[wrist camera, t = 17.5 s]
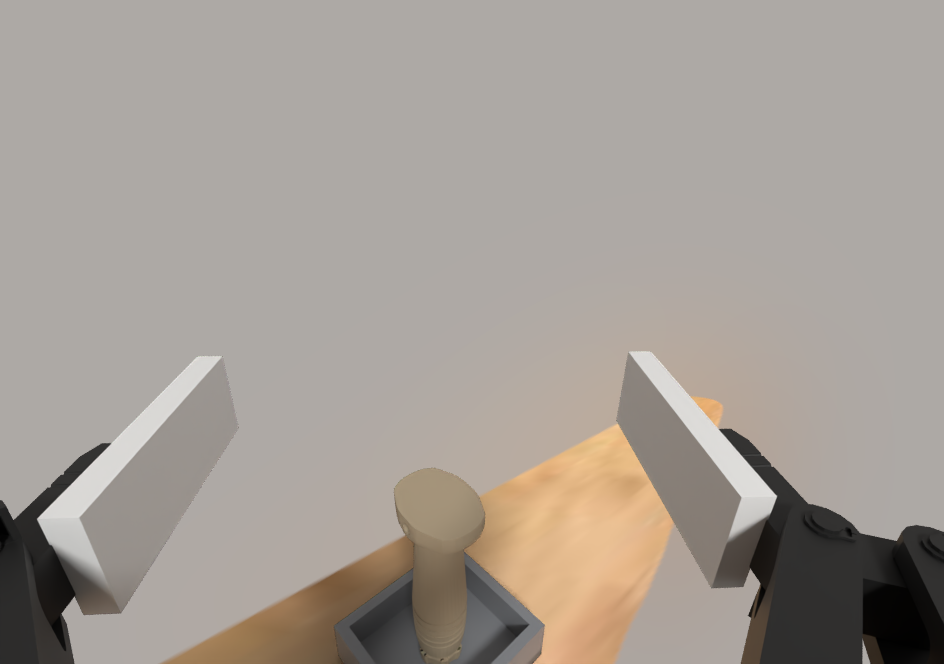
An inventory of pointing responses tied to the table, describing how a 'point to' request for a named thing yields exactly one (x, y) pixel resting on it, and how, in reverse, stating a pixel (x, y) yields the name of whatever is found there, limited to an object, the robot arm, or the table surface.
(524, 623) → the tray
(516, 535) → the table surface
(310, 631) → the table surface
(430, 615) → the handle
